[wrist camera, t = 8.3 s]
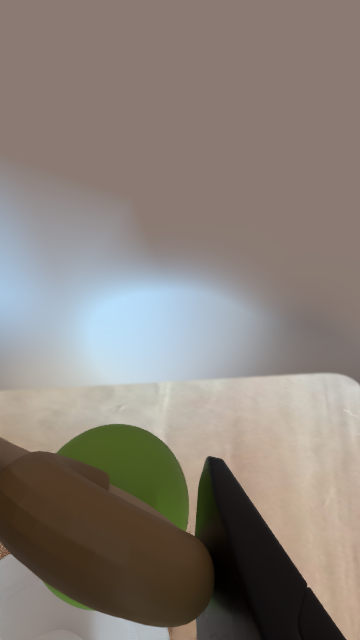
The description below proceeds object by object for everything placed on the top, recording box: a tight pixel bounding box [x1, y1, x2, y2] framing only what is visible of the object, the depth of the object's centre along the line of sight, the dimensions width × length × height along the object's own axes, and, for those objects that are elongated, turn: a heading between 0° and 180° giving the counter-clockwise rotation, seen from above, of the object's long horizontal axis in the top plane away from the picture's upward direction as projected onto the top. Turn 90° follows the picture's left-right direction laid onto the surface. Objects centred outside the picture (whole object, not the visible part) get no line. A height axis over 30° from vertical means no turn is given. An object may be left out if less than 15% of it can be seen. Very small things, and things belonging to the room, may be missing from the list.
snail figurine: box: [0, 424, 215, 628], centre depth 8 cm, size 5×6×12 cm
